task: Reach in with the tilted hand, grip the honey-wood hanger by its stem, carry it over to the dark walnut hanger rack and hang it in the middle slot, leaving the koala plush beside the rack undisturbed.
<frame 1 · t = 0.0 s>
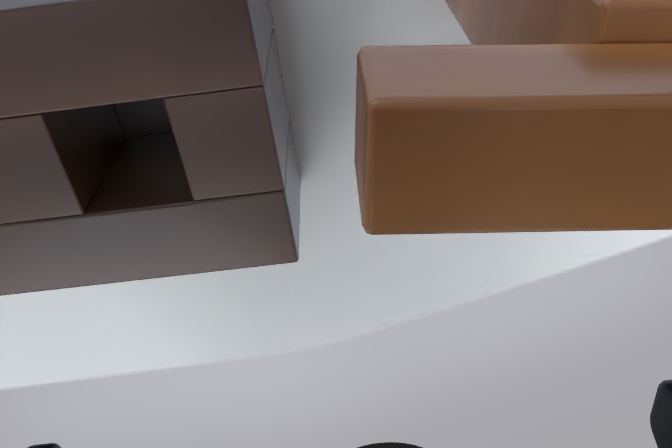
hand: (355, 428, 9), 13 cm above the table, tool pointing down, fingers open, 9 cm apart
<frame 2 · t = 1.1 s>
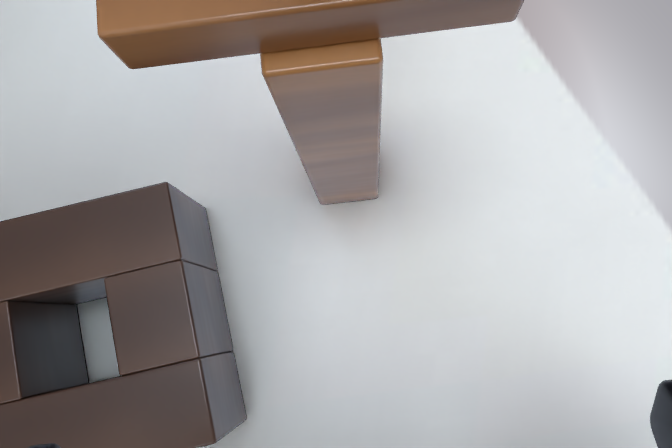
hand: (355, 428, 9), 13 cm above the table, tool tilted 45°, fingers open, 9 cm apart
hanger: (346, 173, 24), on the table
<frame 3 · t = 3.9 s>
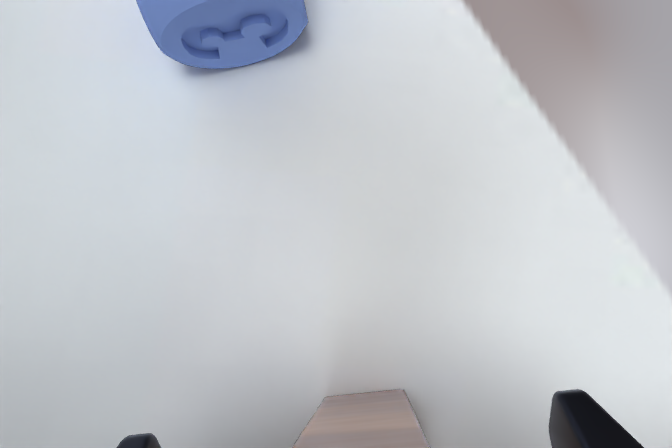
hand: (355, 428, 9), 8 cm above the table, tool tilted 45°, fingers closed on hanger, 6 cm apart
decorative dice: (237, 8, 19), on the table
hanger: (368, 434, 17), on the table, touching gripper
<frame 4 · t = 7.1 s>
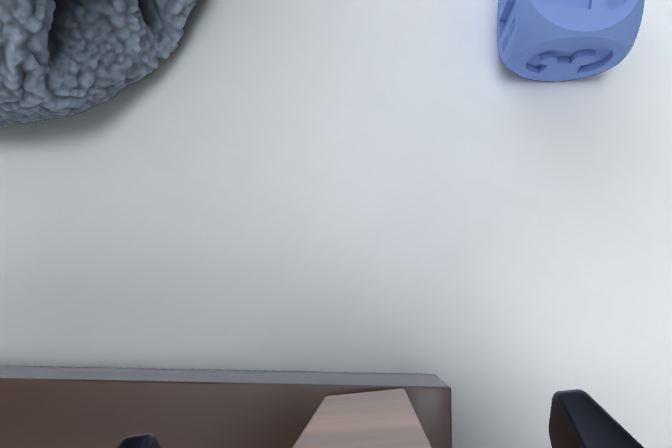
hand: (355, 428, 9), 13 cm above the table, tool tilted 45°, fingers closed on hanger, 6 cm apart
decorative dice: (547, 35, 24), on the table
hanger: (369, 434, 17), point 6 cm above the table, touching gripper
when the fingers open (8 cm above the table, at t = 10.6 s): hanger stays where it is, resting on rack.
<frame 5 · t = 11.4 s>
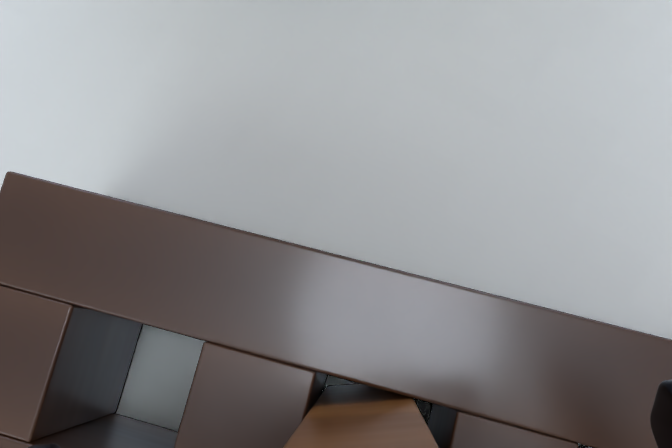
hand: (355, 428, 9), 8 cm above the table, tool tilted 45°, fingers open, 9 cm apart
hanger: (368, 423, 17), resting on rack
rack: (369, 427, 17), on the table
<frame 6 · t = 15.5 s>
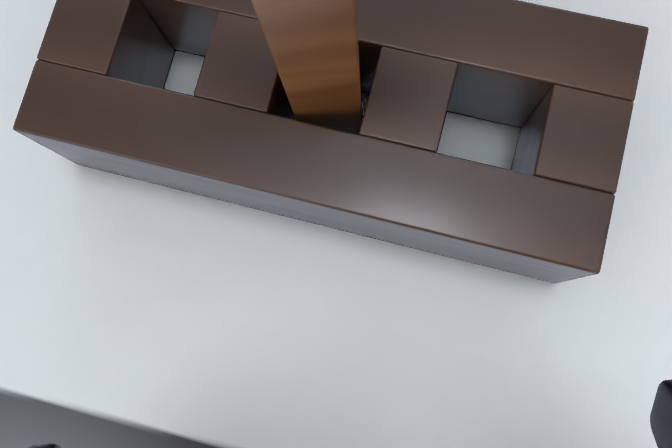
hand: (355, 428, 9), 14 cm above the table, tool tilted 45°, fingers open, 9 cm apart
hanger: (332, 121, 24), resting on rack
rack: (333, 123, 24), on the table
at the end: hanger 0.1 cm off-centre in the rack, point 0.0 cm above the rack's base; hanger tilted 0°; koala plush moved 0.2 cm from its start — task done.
